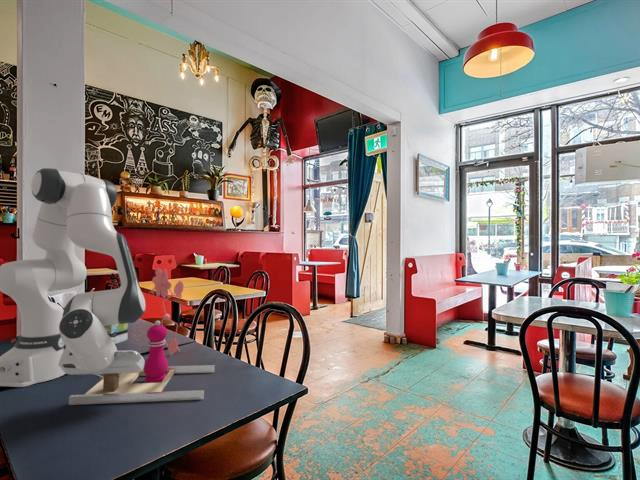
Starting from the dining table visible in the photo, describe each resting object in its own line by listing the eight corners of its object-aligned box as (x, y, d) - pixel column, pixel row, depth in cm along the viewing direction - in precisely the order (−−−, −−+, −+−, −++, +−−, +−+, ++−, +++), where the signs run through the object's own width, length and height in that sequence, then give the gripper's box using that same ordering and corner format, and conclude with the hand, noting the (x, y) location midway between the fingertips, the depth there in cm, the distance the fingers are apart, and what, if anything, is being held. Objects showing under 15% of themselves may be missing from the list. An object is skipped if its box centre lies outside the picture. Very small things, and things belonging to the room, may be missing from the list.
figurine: (160, 343, 152) (160, 265, 152) (193, 356, 137) (194, 269, 136) (123, 352, 140) (124, 267, 139) (156, 367, 125) (157, 272, 124)
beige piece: (81, 401, 97) (82, 364, 97) (111, 375, 116) (112, 344, 116) (156, 398, 100) (157, 362, 100) (173, 373, 119) (174, 343, 119)
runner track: (68, 404, 95) (68, 396, 95) (105, 374, 117) (105, 367, 117) (203, 399, 101) (203, 391, 101) (214, 371, 122) (214, 365, 122)
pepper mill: (158, 387, 108) (160, 324, 108) (138, 384, 109) (140, 322, 109) (172, 378, 115) (174, 319, 115) (153, 376, 116) (155, 317, 116)
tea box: (128, 339, 156) (129, 307, 156) (110, 346, 146) (111, 311, 147) (101, 336, 160) (102, 305, 160) (81, 342, 150) (83, 309, 150)
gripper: (141, 341, 97) (151, 364, 106) (61, 343, 93) (80, 365, 103) (134, 363, 92) (146, 384, 102) (50, 365, 89) (71, 386, 99)
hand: (112, 375), depth 102 cm, fingers closed on beige piece, 3 cm apart
